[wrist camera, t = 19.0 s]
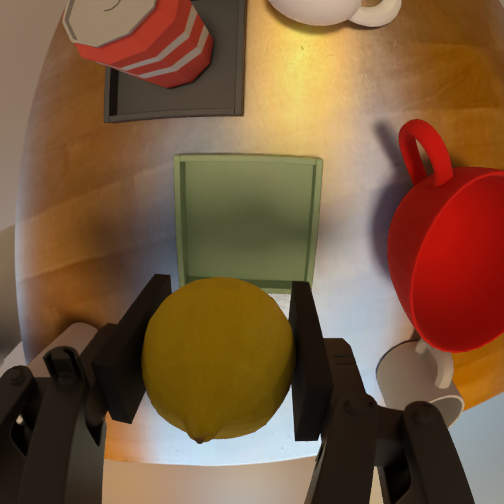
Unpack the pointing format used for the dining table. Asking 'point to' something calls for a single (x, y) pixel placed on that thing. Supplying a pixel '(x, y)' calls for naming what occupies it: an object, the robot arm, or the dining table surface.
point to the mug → (337, 11)
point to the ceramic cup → (448, 246)
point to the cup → (420, 379)
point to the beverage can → (141, 37)
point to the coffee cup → (72, 336)
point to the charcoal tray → (203, 86)
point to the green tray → (247, 218)
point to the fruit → (218, 358)
